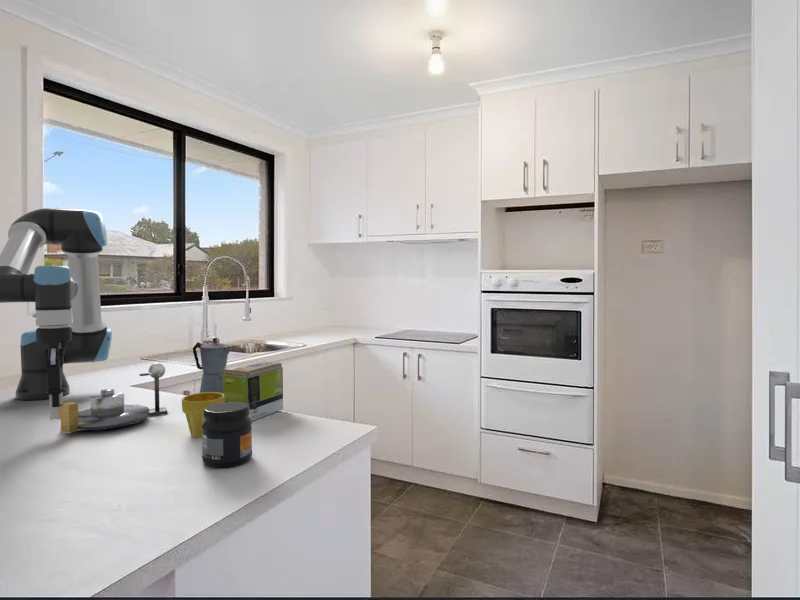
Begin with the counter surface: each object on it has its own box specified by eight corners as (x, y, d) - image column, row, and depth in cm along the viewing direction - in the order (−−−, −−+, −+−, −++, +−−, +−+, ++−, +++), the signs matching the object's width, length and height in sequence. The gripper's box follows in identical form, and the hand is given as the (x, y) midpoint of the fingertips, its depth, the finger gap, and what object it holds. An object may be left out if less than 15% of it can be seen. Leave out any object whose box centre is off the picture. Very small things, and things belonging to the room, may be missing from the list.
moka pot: (224, 399, 164) (223, 340, 163) (183, 397, 167) (182, 338, 166) (239, 393, 173) (238, 336, 172) (200, 391, 176) (199, 335, 175)
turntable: (37, 428, 127) (36, 401, 127) (113, 407, 149) (113, 384, 148) (94, 436, 121) (93, 408, 120) (165, 413, 142) (165, 389, 142)
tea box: (258, 406, 155) (258, 360, 154) (283, 410, 150) (283, 362, 150) (222, 418, 141) (221, 367, 141) (248, 423, 137) (248, 370, 136)
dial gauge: (139, 413, 146) (138, 362, 146) (165, 410, 150) (164, 360, 149) (140, 417, 142) (139, 365, 142) (167, 414, 146) (166, 363, 145)
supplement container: (261, 454, 112) (260, 402, 112) (235, 471, 102) (235, 414, 101) (220, 450, 114) (219, 399, 114) (191, 467, 104) (190, 411, 104)
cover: (84, 415, 134) (83, 391, 133) (110, 408, 141) (110, 386, 141) (104, 418, 131) (104, 394, 130) (131, 411, 138) (130, 388, 138)
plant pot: (183, 442, 120) (183, 403, 120) (181, 431, 129) (180, 394, 129) (228, 436, 125) (227, 398, 125) (222, 425, 134) (221, 390, 134)
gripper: (38, 325, 128) (41, 414, 129) (32, 329, 117) (35, 427, 117) (73, 323, 132) (75, 410, 132) (70, 327, 120) (72, 422, 121)
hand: (56, 418), depth 125 cm, fingers closed
